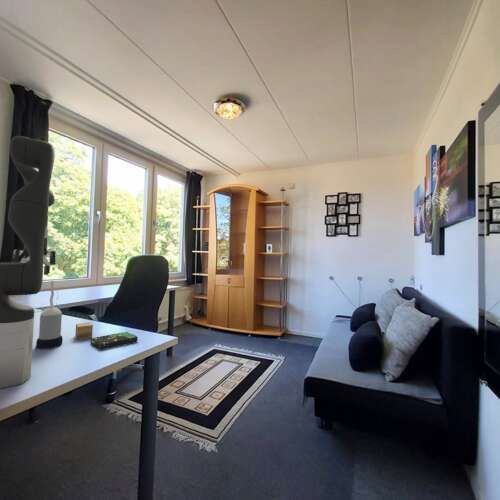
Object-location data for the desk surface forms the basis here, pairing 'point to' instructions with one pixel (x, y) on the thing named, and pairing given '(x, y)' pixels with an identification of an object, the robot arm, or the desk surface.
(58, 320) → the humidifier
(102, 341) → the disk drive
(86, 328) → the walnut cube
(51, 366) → the desk surface
